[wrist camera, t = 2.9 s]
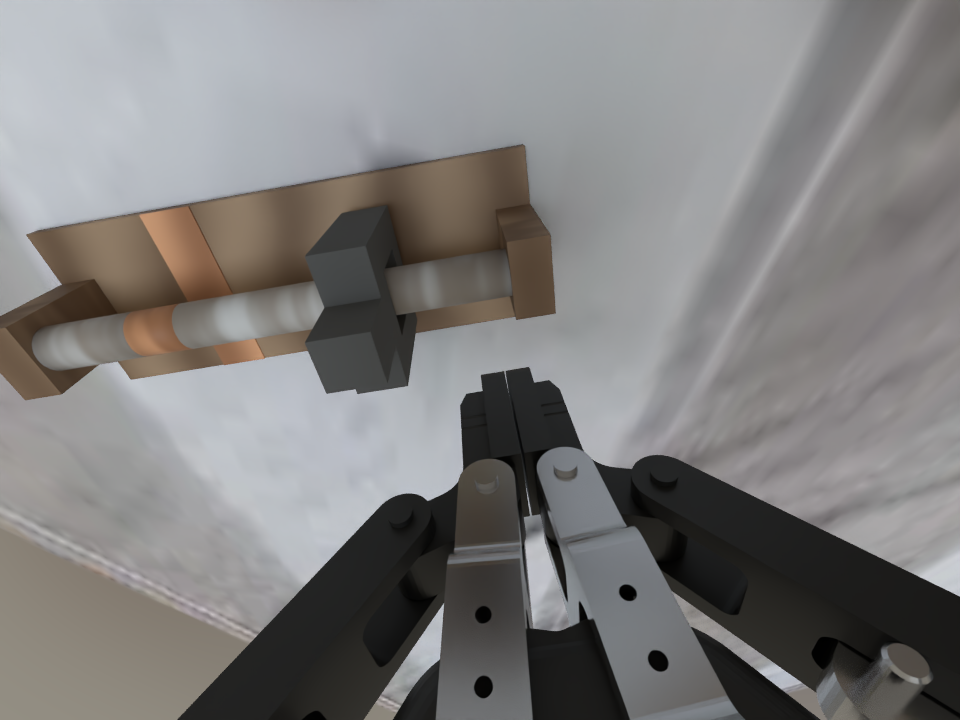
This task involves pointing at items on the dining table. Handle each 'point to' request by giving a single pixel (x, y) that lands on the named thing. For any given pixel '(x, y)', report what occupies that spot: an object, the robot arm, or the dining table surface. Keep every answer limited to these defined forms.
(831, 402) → the dining table surface
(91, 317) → the rail
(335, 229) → the collar
